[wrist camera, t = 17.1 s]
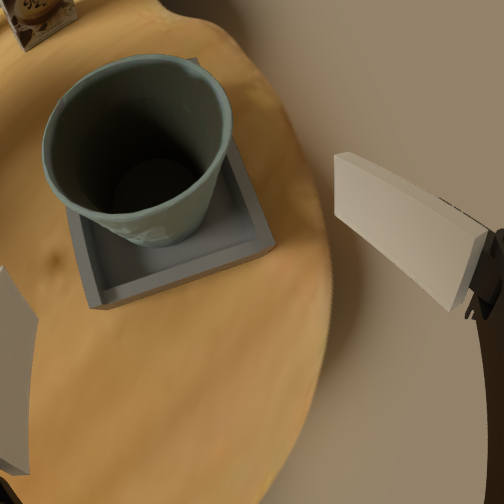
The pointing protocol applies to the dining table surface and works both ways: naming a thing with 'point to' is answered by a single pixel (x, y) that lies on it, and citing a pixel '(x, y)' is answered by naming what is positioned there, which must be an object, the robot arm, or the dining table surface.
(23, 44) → the coffee box
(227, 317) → the dining table surface
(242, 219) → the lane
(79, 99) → the grey-green cup
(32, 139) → the dining table surface
